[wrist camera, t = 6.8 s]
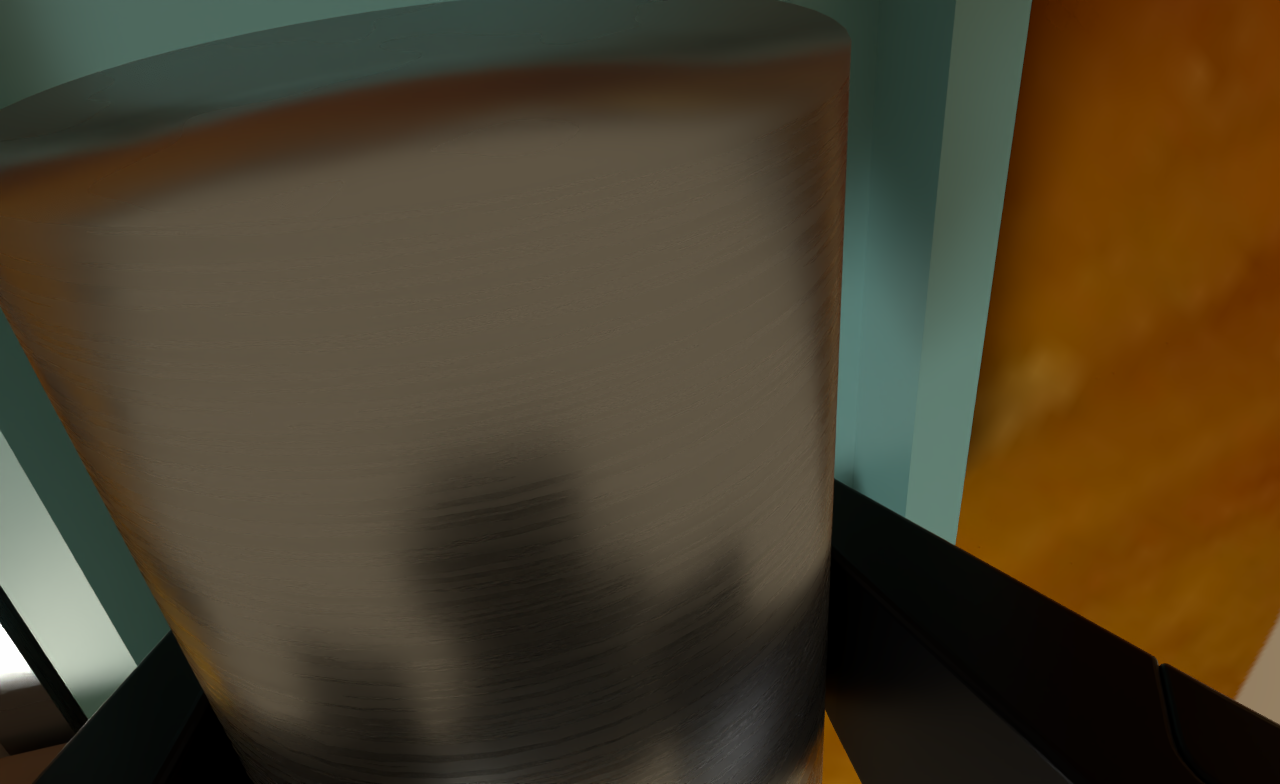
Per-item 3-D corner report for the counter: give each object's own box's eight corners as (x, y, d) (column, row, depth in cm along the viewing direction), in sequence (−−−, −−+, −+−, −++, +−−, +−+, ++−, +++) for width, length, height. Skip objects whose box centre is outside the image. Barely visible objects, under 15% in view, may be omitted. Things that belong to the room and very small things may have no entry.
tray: (883, 539, 18) (943, 626, 16) (184, 695, 17) (152, 816, 14) (962, -415, 10) (1100, -481, 8) (-378, -325, 9) (-634, -382, 6)
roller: (734, 709, 12) (893, 1109, 8) (392, 799, 11) (392, 1280, 7) (702, -31, 7) (1061, 97, 3) (96, 46, 6) (-345, 325, 3)
